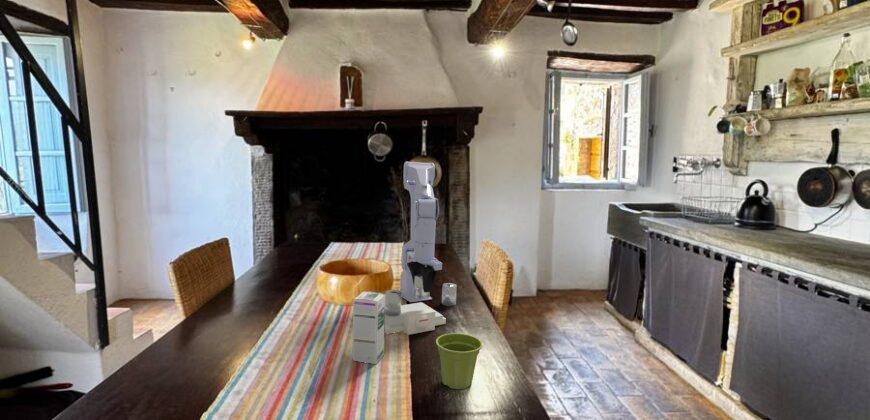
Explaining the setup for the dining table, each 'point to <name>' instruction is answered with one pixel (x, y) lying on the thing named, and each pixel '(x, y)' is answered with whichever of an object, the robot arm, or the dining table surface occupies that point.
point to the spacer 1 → (393, 302)
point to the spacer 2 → (420, 288)
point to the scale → (414, 319)
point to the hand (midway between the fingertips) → (422, 289)
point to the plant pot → (458, 358)
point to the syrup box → (369, 327)
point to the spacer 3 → (449, 294)
